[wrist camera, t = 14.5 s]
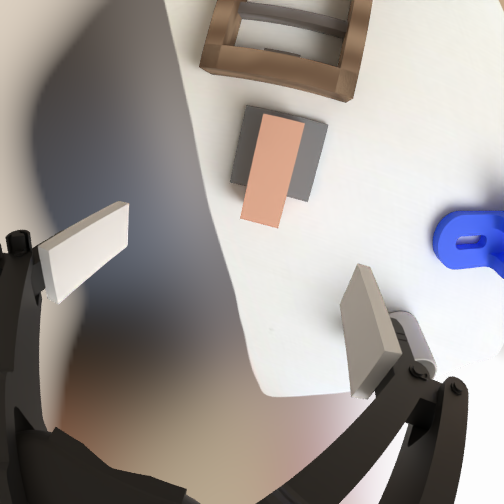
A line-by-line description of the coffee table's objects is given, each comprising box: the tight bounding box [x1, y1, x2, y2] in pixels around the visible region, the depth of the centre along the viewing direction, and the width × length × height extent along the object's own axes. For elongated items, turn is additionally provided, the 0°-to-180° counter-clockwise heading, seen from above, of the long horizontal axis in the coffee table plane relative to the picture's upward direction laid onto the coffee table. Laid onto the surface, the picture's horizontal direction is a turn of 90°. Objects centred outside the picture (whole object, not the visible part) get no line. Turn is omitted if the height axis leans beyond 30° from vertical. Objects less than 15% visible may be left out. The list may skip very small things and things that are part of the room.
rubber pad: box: [230, 105, 328, 202], centre depth 33 cm, size 10×10×1 cm
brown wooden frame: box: [199, 0, 373, 103], centre depth 24 cm, size 21×17×5 cm
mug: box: [389, 311, 437, 380], centre depth 37 cm, size 12×8×11 cm
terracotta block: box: [240, 114, 305, 228], centre depth 32 cm, size 12×4×4 cm, turn 167°
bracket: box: [433, 211, 504, 279], centre depth 29 cm, size 18×8×9 cm, turn 97°
